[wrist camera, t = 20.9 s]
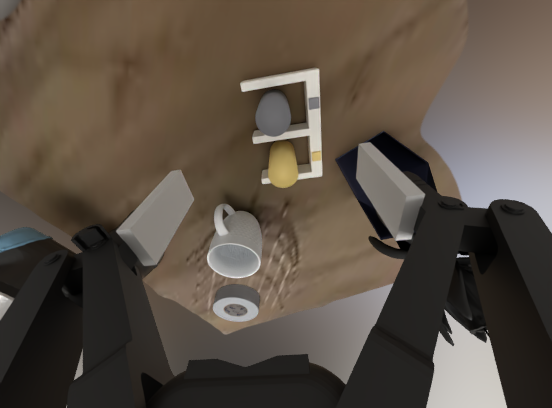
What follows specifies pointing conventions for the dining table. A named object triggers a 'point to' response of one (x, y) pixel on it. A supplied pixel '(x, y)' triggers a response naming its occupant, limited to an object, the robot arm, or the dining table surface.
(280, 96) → the charcoal plug
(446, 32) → the dining table surface
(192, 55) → the dining table surface
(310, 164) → the comb rack
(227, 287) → the grey wheel
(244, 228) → the mug
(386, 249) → the vase
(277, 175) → the ochre plug
